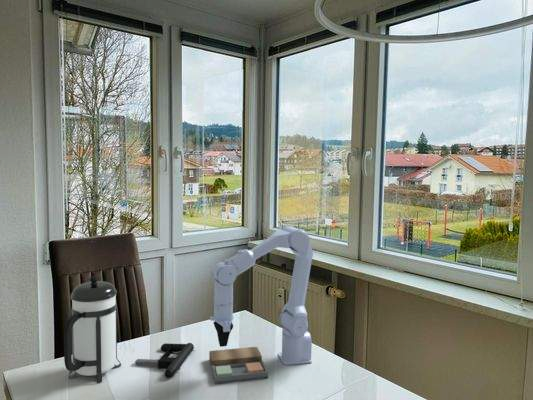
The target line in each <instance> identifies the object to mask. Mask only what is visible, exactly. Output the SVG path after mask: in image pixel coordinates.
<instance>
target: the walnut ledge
mask: <svg viewBox="0 0 533 400" xmlns="http://www.w3.org/2000/svg"><path fill="white" fill-rule="evenodd" d="M208 354H209V355H208V356H209V359H208V360H209V364H210V368H211V370H212V365H214V366H218V365H228V364H238V363H248V362H257V361H262V360H263V355H262V353H261V352H260V349H259V347H258V346H250V347H239V348H227V349H218V350H217V349H216V350H209V353H208Z"/></svg>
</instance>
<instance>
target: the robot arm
mask: <svg viewBox="0 0 533 400" xmlns="http://www.w3.org/2000/svg"><path fill="white" fill-rule="evenodd" d="M277 248H283V249H290V251H291V252H292V253H293V254H294V256H295V257H294V258H295V259H294V263H293V269H292V270H293V271H292V276H291V283H290V287H289V288H290V289H289V295H288V301H287V302H286V303H284V305H283V309H282V311H281V312H280V314H279V318H278V319H279V320H278V321H279V324H280V325H281V326H282V329H281V333H282V334H281V335H282V336H281V339H282V340H281V352H277V355H278V357H279V358H280V360H281V362H282V364H283V365H285V366H289V365H299V364H308V363H312V362H313V360H312V345H313V344H312V343H313V342H312V336H311V333H310V331H308V330H309V329H308V328H309V323H308V313H307V309H306V307H305V302H306V298H307V291H308V285H309V280H310V274H311V267H312V262H313V256H314V252H313V249H312V248H313V247H312V244H311V237H310V235H309V234H308V233H307V232H306V231H305V230H304V229H300V228H296V227H293V226H291V225H285V226H283V227H281V228H279V229H277V230H276V231H274V233H273V234H272V235H270V236H268V237H267V238H266V239H264V240H263V241H261V242H260V243H259V244H257V245H255V246H254V247H252V248H250V249H247V248H246V249H245V248H244V249H239V250H238V251H237V253H236V254H235V255H233V256H232V257H230V258H225V259H224V262H223V261H222V262H218V263H216V264H215V265H214V267H213V268H212V271H211V275H212V277H213V279H214V288H213V315H210V316H209V319H210V320H209V321H213V325H214V329H215V330H216V334H217V339H218V344H219V347H227V346H228V342H229V338H230V334H231V332H232V330H233V329H234V324H233V321H234V315H233V313H234V312H233V311H234V309H233V308H234V282H235V281H236V280H237V277H238V276H239V275H241V274H242V273H244V272H246V271H248V270H249V269H250V268H251V267H253V266H254V265H255V264H256V260H257V259H259V258H260V257H263V256H265V255H267V254H269V253H270V252H273V251H274V250H275V249H277Z"/></svg>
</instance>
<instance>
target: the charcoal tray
mask: <svg viewBox="0 0 533 400" xmlns="http://www.w3.org/2000/svg"><path fill="white" fill-rule="evenodd" d="M257 362H260V364H261V365H262V367H263V371H262V372H253V373H247V372H246V364H248V363H257ZM257 362H248V363H238V364H228V365H218V366H229V365H230V367H231V370H232V375H224V376H217V375H216V371H215V367H218V366H214V365H212V369H211V372H212V377H213V381H214V384H215V385H219V384H220V385H221V384H228V383H229V384H230V383H237V382H247V381H255V380H265V379H269V370H268V368H267V366H266V365H265V362H264V360H263V359H262V361H257Z"/></svg>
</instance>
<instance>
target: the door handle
mask: <svg viewBox="0 0 533 400" xmlns="http://www.w3.org/2000/svg"><path fill="white" fill-rule="evenodd" d="M194 349H195V346H194V343H192V342H188V343H163V344H161V346H160V351H161V352H164V354H162V356H161V357H160V358H159V359H149V358H148V359H147V358H145V359H144V358H137V359H136V360H135V361H134V364H135V365H134V366H140V367H147V368H149V367H150V368H157V369H159V370H165V371H164V377H166V378H167V379H172V377H173V378H174V376H175V375H176V374H178V373H179V372H178V371H181V369H182V367H184V365H185V364H186V362H187V361H188V360H189V358H190V355H191V354H192V352H194ZM172 353H173V355H176V357H173V356H172V357H171V354H172Z"/></svg>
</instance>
